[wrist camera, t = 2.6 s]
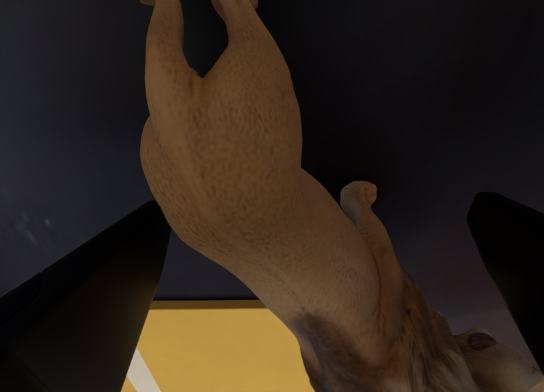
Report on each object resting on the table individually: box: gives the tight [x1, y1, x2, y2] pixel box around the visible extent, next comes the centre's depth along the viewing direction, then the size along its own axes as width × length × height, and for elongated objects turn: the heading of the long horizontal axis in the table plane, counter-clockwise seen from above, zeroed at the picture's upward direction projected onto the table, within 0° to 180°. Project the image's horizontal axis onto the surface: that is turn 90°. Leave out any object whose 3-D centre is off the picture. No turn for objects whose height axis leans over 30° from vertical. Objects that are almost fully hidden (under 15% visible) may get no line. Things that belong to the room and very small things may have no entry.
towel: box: [121, 300, 315, 392], centre depth 21 cm, size 20×14×1 cm
